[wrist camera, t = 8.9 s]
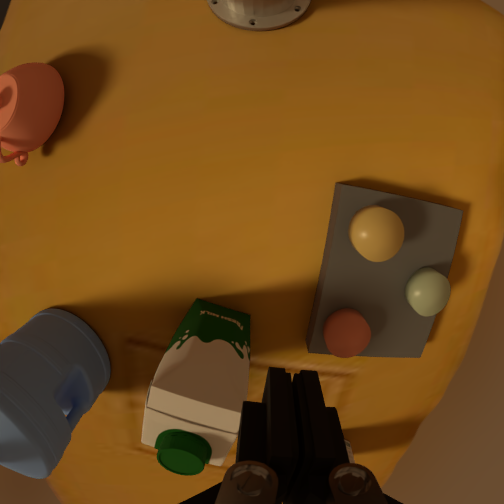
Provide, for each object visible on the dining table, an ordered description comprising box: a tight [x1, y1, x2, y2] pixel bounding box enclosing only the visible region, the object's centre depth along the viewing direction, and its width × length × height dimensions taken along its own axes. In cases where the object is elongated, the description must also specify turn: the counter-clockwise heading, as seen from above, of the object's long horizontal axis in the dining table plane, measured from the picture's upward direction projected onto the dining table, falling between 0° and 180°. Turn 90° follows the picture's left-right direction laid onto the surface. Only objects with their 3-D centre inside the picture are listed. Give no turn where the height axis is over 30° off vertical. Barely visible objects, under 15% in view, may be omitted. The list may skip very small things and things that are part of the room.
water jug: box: [0, 308, 111, 479], centre depth 29 cm, size 16×16×28 cm
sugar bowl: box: [0, 63, 64, 166], centre depth 28 cm, size 12×14×10 cm
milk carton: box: [141, 299, 250, 475], centre depth 30 cm, size 9×9×20 cm
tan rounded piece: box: [348, 205, 404, 262], centre depth 31 cm, size 5×5×5 cm
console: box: [306, 183, 463, 358], centre depth 36 cm, size 20×16×3 cm
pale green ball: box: [405, 267, 451, 316], centre depth 34 cm, size 5×5×5 cm
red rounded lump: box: [323, 308, 371, 358], centre depth 36 cm, size 5×5×5 cm
